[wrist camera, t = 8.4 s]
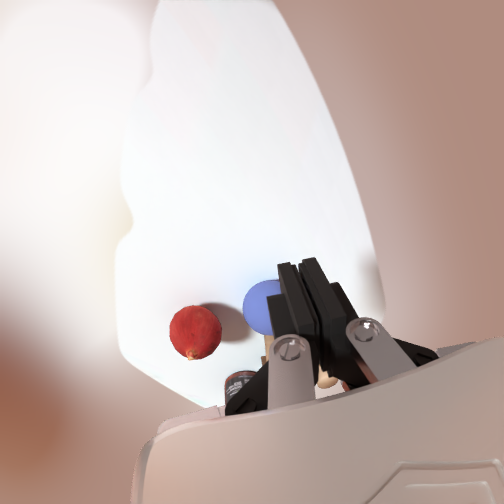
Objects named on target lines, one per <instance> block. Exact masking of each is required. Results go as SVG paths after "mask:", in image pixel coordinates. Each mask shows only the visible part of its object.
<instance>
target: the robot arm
mask: <svg viewBox="0 0 504 504" xmlns="http://www.w3.org/2000/svg"><path fill="white" fill-rule="evenodd" d="M277 267H278V275H279V282H280V290H281V294H276V295H271V296H266V299H267V305H268V311H269V316H270V322H271V327H272V331H273V336H274V341H273V342H272V344H271V345H270V348H269V360H268V361H267V362H266V363H265V364H264V365H263V366H262V367H261V368H260V369H259V371H258V372H257V373H256V374H255V375H254V376H253V377H252V378H251V379H250V380H249V381H248V382H247V383H246V384H245V385H244V386H243V387H242V388H241V389H240V390H239V391H238V392H237V393H236V394H235V395H234V396H233V397H232V398H231V399H230V400H229V401H228V403H227V404H226V405H224V406H221V407H217V405H216V406H213V407H209V408H206V409H203V410H199V411H196V412H192V413H189V414H186V415H181V416H178V417H174V418H170V419H168V420H165V421H164V422H163V423H162V424H161V425H160V426H159V428H158V431H157V432H158V433H157V436H155V437H153V438H152V439H151V440H149V441H148V442H147V443H146V444H145V445H144V446H143V448H142V449H141V451H140V454H139V456H138V459H137V462H136V466H135V470H134V476H133V482H132V491H131V504H504V337H494V338H489V339H485V340H482V341H479V342H468V343H464V344H459V345H455V346H449V347H443V348H438V349H436V351H435V352H434V351H432V350H430V349H428V348H425V347H421V346H418V345H414V344H411V343H408V342H405V341H402V340H399V339H395V338H392V337H391V336H390V334H389V333H388V332H387V331H386V330H385V329H384V327H383V326H382V325H381V324H380V323H379V322H378V321H376V320H374V319H372V318H367V317H362V318H359V317H358V315H357V313H356V312H355V310H354V308H353V306H352V305H351V303H350V301H349V299H348V298H347V296H346V294H345V293H344V291H343V289H342V287H341V286H340V284H339V283H338V282H334V283H329V281H328V280H327V278H326V276H325V274H324V272H323V271H322V269H321V267H320V265H319V263H318V262H317V260H316V258H315V257H313V258H308V259H303V260H302V263H299V264H298V268H299V272H298V270H297V267H296V265H295V264H294V265H291V264H290V262H287V263H282V264H277ZM319 364H320V367H321V370H322V372H325V371H327V374H328V377H329V378H331V377H335V378H337V379H339V380H341V385H342V387H343V389H344V390H345V392H343V393H339V394H336V395H332V396H328V397H324V398H320V399H315V388H314V386H315V385H316V384H317V382H318V379H319Z"/></svg>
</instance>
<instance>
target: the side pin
mask: <svg viewBox="0 0 504 504" xmlns="http://www.w3.org/2000/svg"><path fill="white" fill-rule="evenodd" d="M337 381H338V379H337V378H335V377H331V378H329V377H328V374H327V371H325V372H322V370H321V367H320V364H319V379H318V382H317V385H318V387H319V388H322V389H325V388H330V387H332V386H334V385H335V384H336V383H337Z"/></svg>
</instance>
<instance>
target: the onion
mask: <svg viewBox="0 0 504 504" xmlns="http://www.w3.org/2000/svg"><path fill="white" fill-rule="evenodd" d="M221 333H222V328H221V324H220V322H219V320H218V319H217V317H216V316H215V315H214V314H213V313H212V312H211V311H210V310H208V309H206V308H204V307H202V306H194V305H192V306H188V307H184V308H183V309H181V310H180V311H178V312H177V313H176V314H175V315H174V317H173V319H172V321H171V323H170V340H171V342H172V344H173V346H174V347H175V349H176V350H177V351H178V352H179V353H180V354H181V355H183V356H185V357H187V358H188V360H197V359H203V358H205V357H207V356H209V355H210V354H212V353H213V352H214V351H215V349H216V348H217V347H218V345H219V344H220V342H221Z"/></svg>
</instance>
